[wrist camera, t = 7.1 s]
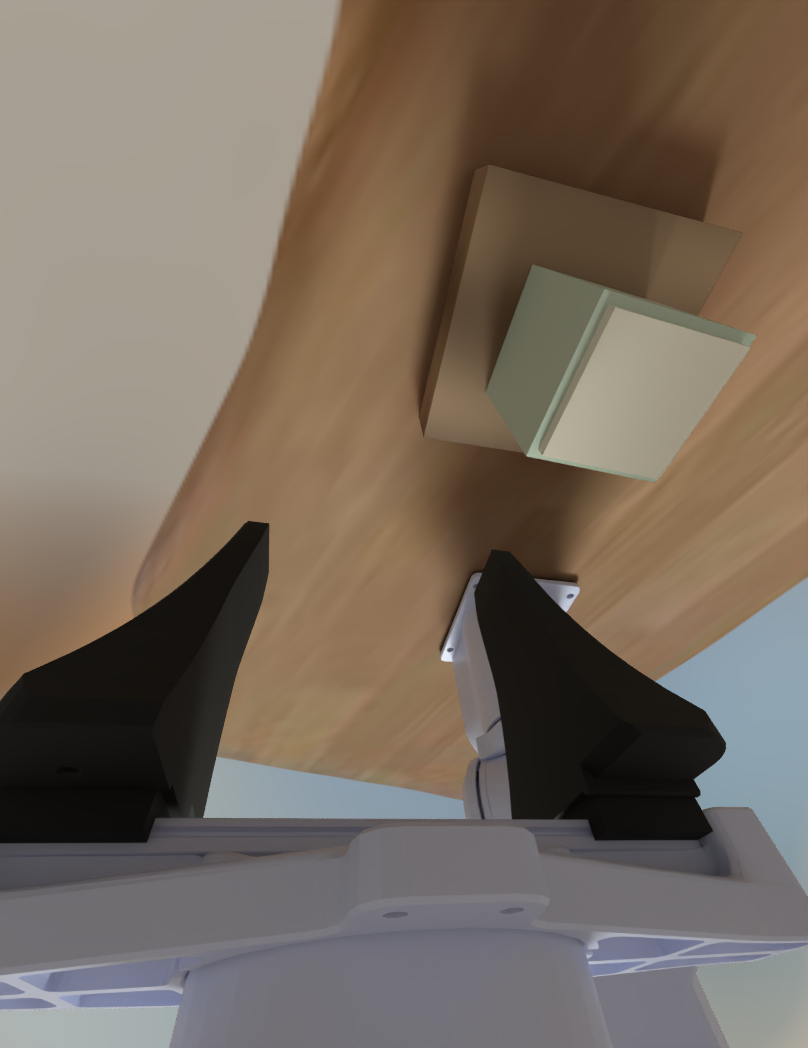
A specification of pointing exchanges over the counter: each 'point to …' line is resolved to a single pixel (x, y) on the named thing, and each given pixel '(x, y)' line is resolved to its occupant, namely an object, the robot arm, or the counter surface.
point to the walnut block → (560, 245)
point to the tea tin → (607, 375)
